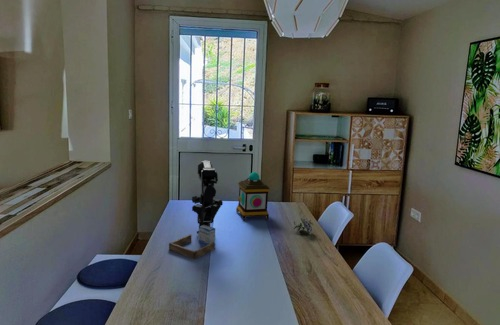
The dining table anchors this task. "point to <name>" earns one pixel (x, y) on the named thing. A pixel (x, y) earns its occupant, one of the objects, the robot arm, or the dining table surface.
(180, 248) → the frame
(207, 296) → the dining table surface
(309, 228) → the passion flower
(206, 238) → the medicine box
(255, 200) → the decorative lantern
